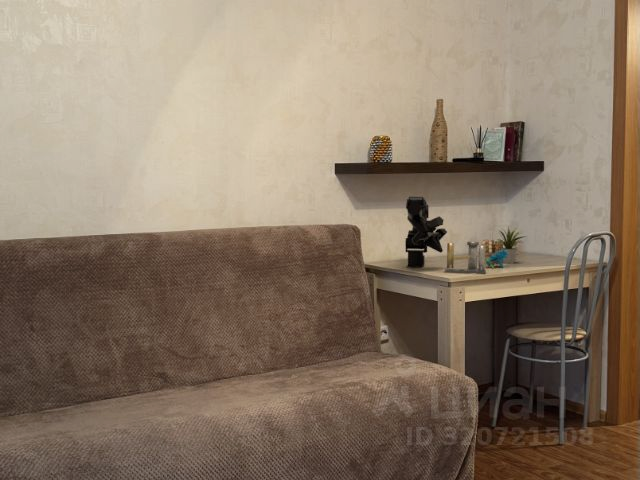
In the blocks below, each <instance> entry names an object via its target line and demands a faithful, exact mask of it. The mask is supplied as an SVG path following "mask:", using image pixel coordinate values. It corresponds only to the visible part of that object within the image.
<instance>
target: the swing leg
mask: <svg viewBox="0 0 640 480" xmlns="http://www.w3.org/2000/svg"><path fill="white" fill-rule="evenodd" d="M446 245H447V249H446V250H447V251H446V252H447V253H446V256H447V257H446V268H450V269H454V264H455V263H454V262H455V261H457V260H459V261H460V260H468V259H469V258H470V256H468V255H461V256H455V254H454V253H455V251H454V250H455V243H454V242H447V244H446Z"/></svg>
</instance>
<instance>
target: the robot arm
mask: <svg viewBox="0 0 640 480" xmlns="http://www.w3.org/2000/svg"><path fill="white" fill-rule="evenodd" d="M405 205H406V206H405V208H406V211H407V221H408V222H409V224H411V226H412V229H411V230H410V229H409V230H408V234H407V236H406V237H405V241H404V242H405V244H404V245H405V253H407V265H406V267H407V268H409V267H410V268H423V267H424V266H425V264H426V263H425V261H426V259H425V258H426V257H425V255H424V254H425V253H428V247H429V248H431V249H433V250H434V251H436V252H438V253H443V251H444V250H443V247H442V244H441V242H440V241H441V240H442V239H443V238H444V236H446V234H447V233H448V231H447V230H446V228H444V227H443V228H441V227H440V226H443V225H444V222H445V221H444V219H443V218H442V217H441V216H436V217H435V218H432V219H430V220H428V219H429V215H430V214H429V213H430V211H429V209H430V206H429V205H428V202H427V200H426V199H425V197H424V196H408V199H407V200H406V204H405ZM437 227H440V228H437Z"/></svg>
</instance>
